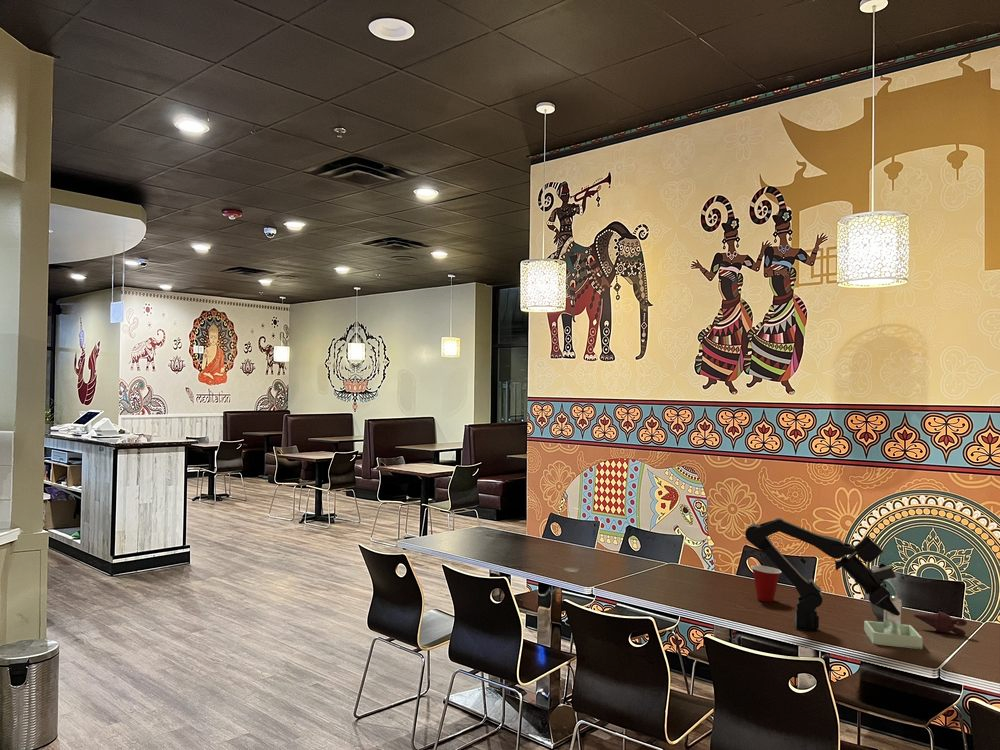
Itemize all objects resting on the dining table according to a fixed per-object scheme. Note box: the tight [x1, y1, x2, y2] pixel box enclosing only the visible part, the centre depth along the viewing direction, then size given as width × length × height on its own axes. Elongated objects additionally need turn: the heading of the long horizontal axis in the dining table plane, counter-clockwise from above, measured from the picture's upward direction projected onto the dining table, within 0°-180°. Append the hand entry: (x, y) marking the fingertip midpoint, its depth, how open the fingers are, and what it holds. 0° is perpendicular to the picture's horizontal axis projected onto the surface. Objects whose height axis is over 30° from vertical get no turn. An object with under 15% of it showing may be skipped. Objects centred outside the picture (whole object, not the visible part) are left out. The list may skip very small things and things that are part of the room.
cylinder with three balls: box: [883, 595, 902, 635], centre depth 230 cm, size 5×5×13 cm
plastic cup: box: [751, 564, 782, 603], centre depth 275 cm, size 11×11×12 cm
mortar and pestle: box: [870, 602, 903, 623], centre depth 250 cm, size 11×9×12 cm
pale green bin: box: [863, 620, 924, 650], centre depth 230 cm, size 14×14×4 cm
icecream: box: [913, 611, 967, 637], centre depth 241 cm, size 7×7×15 cm
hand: (897, 611), depth 230 cm, fingers open, 9 cm apart
